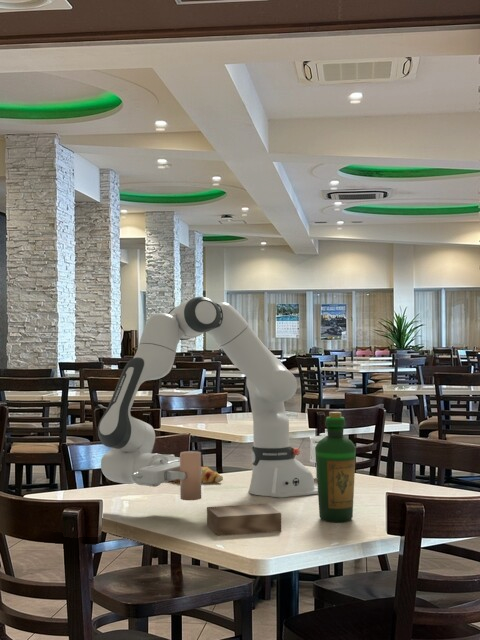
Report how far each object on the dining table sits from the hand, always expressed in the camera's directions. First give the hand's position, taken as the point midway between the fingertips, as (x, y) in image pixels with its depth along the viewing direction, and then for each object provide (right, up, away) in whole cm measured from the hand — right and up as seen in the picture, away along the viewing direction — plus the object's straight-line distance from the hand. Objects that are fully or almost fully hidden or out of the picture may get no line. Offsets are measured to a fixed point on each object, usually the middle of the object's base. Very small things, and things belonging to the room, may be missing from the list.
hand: (193, 473), depth 214 cm
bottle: (+38, -12, -1) cm, 39 cm away
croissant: (-3, -14, +57) cm, 59 cm away
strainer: (+40, -14, +64) cm, 76 cm away
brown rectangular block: (+13, -12, -11) cm, 20 cm away
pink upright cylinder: (-1, -7, 0) cm, 7 cm away
